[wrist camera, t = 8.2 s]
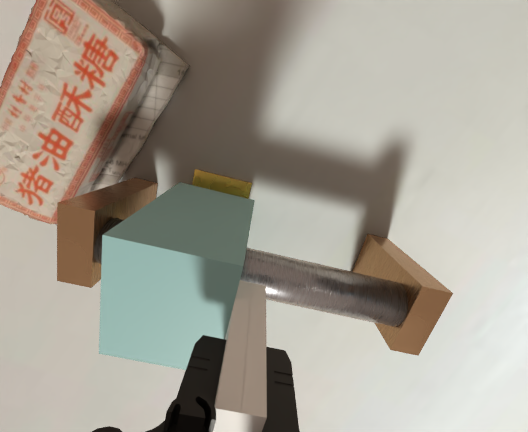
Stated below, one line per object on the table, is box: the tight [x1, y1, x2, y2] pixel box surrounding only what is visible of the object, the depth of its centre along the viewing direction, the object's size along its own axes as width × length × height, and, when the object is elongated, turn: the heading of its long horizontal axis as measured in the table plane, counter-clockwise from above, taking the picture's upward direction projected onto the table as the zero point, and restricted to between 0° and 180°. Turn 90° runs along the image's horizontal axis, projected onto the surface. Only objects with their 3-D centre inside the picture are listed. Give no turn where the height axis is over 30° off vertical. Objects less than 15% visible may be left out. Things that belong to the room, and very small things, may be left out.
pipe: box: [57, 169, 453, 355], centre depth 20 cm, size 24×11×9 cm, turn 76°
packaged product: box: [0, 0, 189, 225], centre depth 19 cm, size 18×5×10 cm
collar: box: [99, 182, 254, 370], centre depth 16 cm, size 6×7×10 cm
